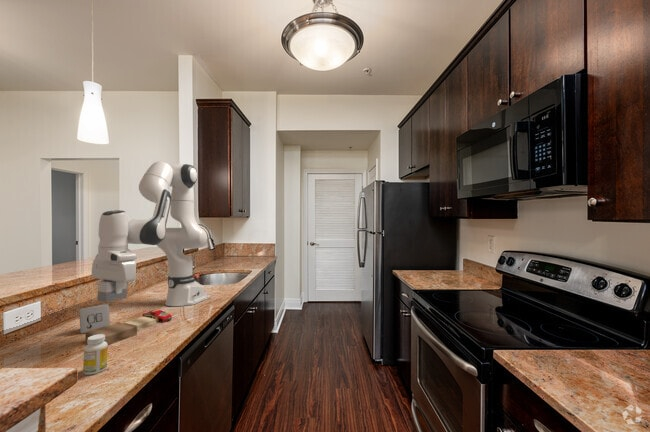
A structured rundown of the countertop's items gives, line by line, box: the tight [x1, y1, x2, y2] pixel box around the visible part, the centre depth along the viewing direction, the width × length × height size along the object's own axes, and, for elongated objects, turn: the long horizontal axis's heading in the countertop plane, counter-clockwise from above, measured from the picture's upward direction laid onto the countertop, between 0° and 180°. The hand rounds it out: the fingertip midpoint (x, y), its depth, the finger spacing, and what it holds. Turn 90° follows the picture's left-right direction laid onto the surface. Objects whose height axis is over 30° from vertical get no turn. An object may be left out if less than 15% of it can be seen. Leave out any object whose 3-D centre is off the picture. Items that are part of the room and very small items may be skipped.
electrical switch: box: [78, 303, 111, 335], centre depth 113 cm, size 9×5×9 cm, turn 141°
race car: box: [141, 309, 173, 323], centre depth 125 cm, size 13×5×4 cm, turn 73°
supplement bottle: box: [82, 334, 109, 376], centre depth 83 cm, size 5×5×10 cm
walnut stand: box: [84, 322, 138, 346], centre depth 105 cm, size 11×11×3 cm
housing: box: [97, 280, 128, 304], centre depth 105 cm, size 5×7×7 cm
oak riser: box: [123, 316, 157, 332], centre depth 117 cm, size 8×8×2 cm
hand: (112, 292), depth 105 cm, fingers closed on housing, 5 cm apart
